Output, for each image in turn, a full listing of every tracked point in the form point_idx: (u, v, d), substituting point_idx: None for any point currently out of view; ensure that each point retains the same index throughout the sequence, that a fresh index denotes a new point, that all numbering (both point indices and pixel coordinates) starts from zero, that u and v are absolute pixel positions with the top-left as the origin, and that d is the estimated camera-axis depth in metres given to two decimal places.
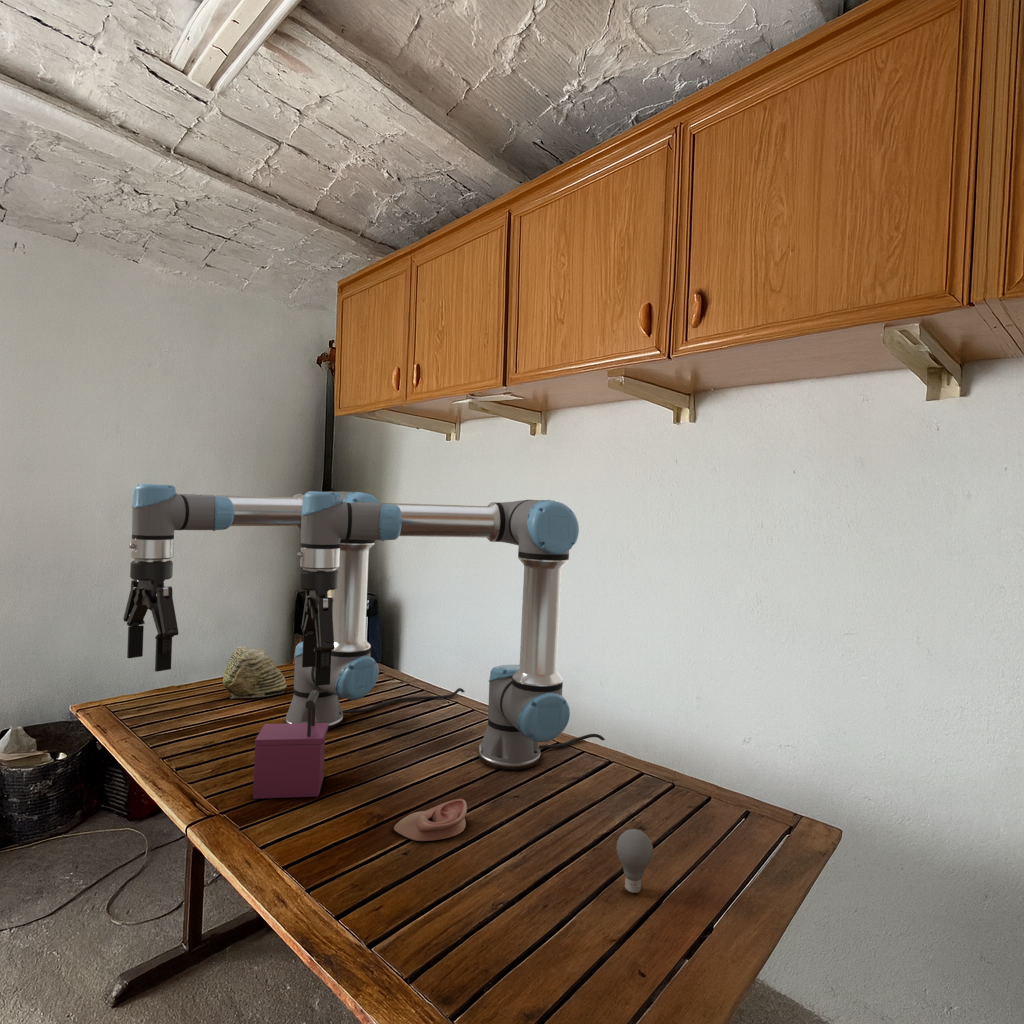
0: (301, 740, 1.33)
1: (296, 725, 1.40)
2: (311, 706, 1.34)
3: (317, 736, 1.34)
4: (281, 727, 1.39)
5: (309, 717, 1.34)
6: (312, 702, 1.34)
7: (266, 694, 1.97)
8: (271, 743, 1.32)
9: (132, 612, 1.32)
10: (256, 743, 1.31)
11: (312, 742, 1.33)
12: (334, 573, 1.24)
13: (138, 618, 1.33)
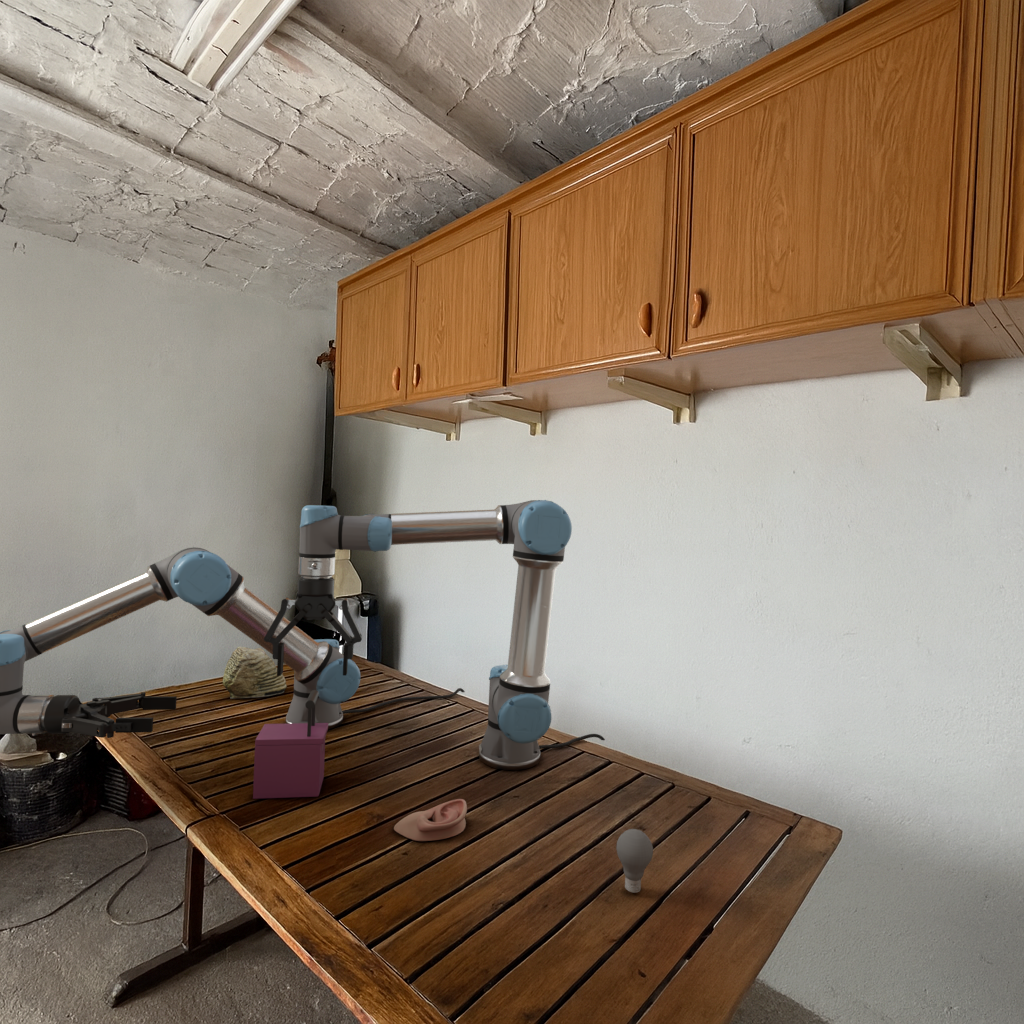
0: (301, 740, 1.33)
1: (296, 725, 1.40)
2: (311, 706, 1.34)
3: (317, 736, 1.34)
4: (281, 727, 1.39)
5: (309, 717, 1.34)
6: (312, 702, 1.34)
7: (266, 694, 1.97)
8: (271, 743, 1.32)
9: None
10: (256, 743, 1.31)
11: (312, 742, 1.33)
12: None
13: (133, 703, 1.37)
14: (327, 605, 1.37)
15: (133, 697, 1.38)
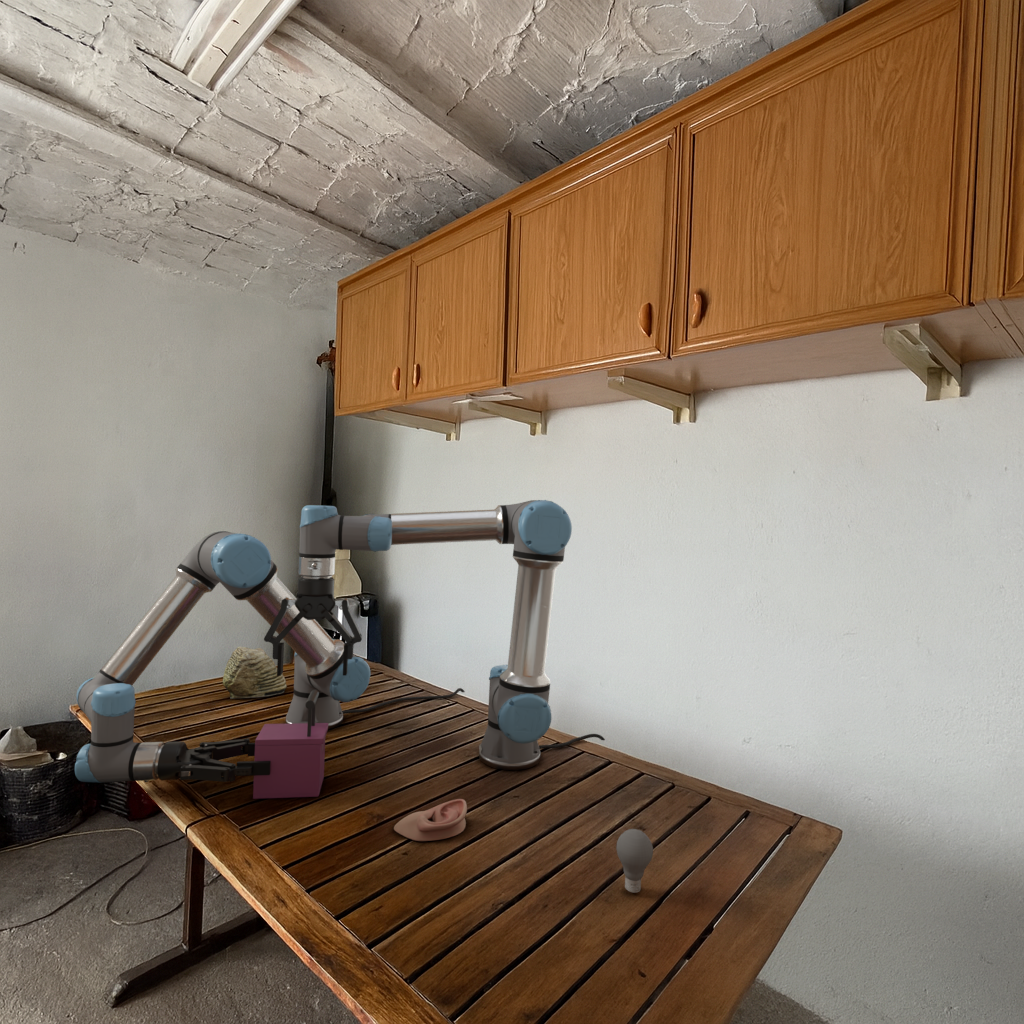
0: (301, 740, 1.33)
1: (296, 725, 1.40)
2: (311, 706, 1.34)
3: (317, 736, 1.34)
4: (281, 727, 1.39)
5: (309, 717, 1.34)
6: (312, 702, 1.34)
7: (266, 694, 1.97)
8: (271, 743, 1.32)
9: None
10: (256, 743, 1.31)
11: (312, 742, 1.33)
12: None
13: (237, 750, 1.39)
14: (327, 605, 1.37)
15: (238, 743, 1.40)
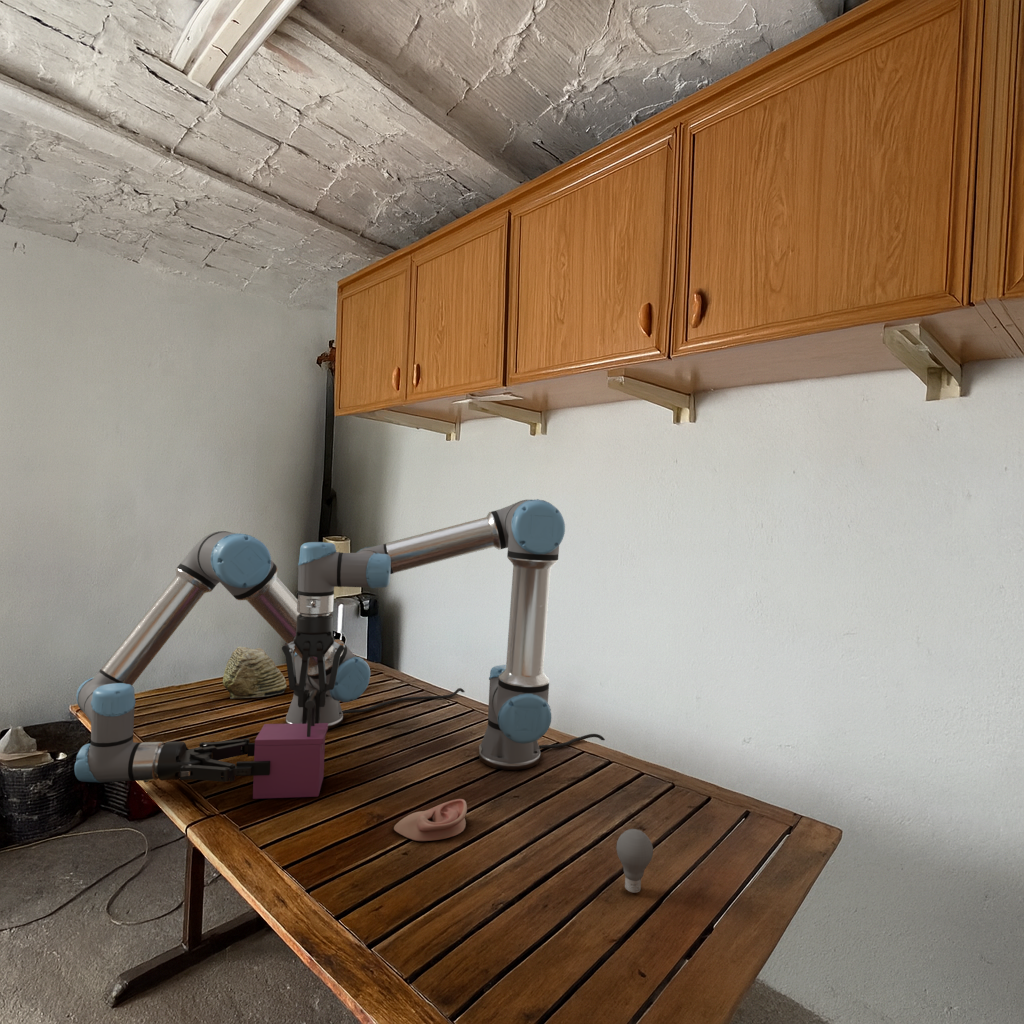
0: (301, 740, 1.33)
1: (295, 725, 1.40)
2: (311, 706, 1.34)
3: (317, 736, 1.34)
4: (280, 727, 1.39)
5: (309, 717, 1.34)
6: (312, 702, 1.34)
7: (266, 694, 1.97)
8: (271, 743, 1.32)
9: None
10: (256, 743, 1.31)
11: (312, 742, 1.33)
12: None
13: (237, 750, 1.39)
14: (326, 642, 1.37)
15: (238, 743, 1.40)
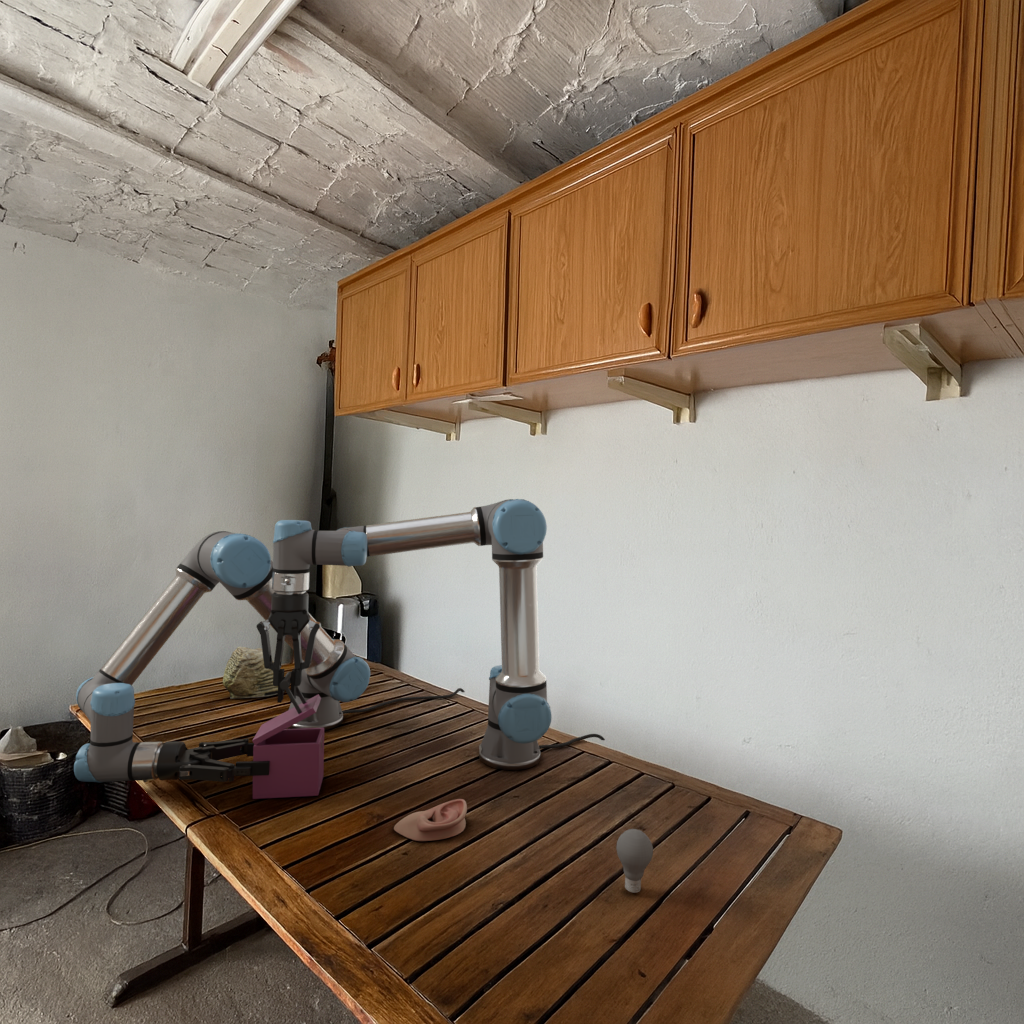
0: (294, 719, 1.32)
1: (289, 711, 1.40)
2: (286, 686, 1.33)
3: (307, 709, 1.34)
4: (276, 719, 1.39)
5: (290, 696, 1.33)
6: (285, 682, 1.33)
7: (266, 694, 1.97)
8: (268, 736, 1.32)
9: None
10: (255, 743, 1.31)
11: (305, 716, 1.33)
12: None
13: (236, 750, 1.39)
14: (301, 621, 1.36)
15: (237, 743, 1.40)
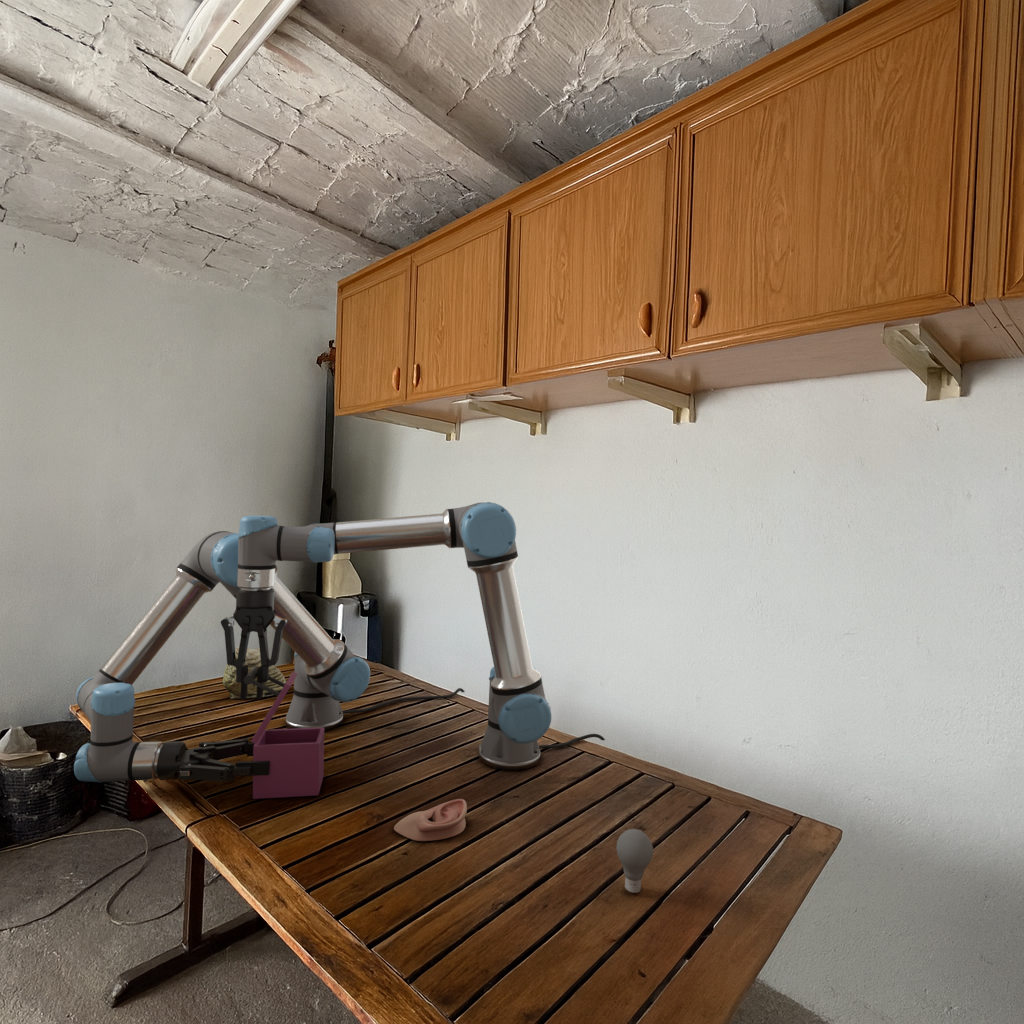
0: (275, 703, 1.32)
1: None
2: (250, 679, 1.32)
3: None
4: None
5: (260, 686, 1.32)
6: (247, 677, 1.32)
7: (266, 694, 1.97)
8: (262, 729, 1.31)
9: None
10: (254, 742, 1.31)
11: (283, 694, 1.32)
12: None
13: (236, 750, 1.39)
14: (266, 617, 1.34)
15: (237, 743, 1.40)
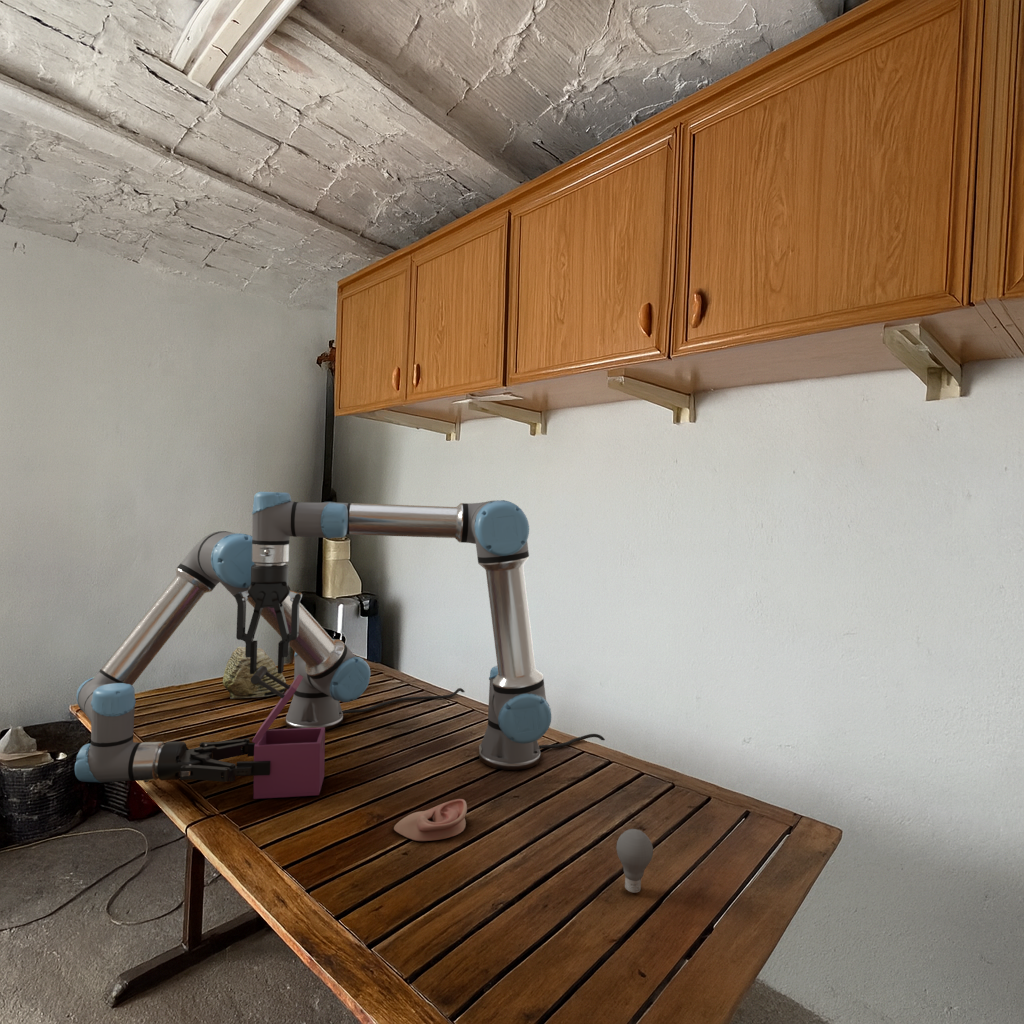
0: (280, 705, 1.32)
1: (279, 701, 1.40)
2: (257, 679, 1.32)
3: (288, 690, 1.33)
4: (270, 714, 1.39)
5: (266, 686, 1.32)
6: (254, 676, 1.32)
7: (266, 694, 1.97)
8: (264, 730, 1.32)
9: None
10: (255, 742, 1.31)
11: (288, 697, 1.32)
12: None
13: (237, 750, 1.39)
14: (281, 593, 1.35)
15: (238, 743, 1.40)
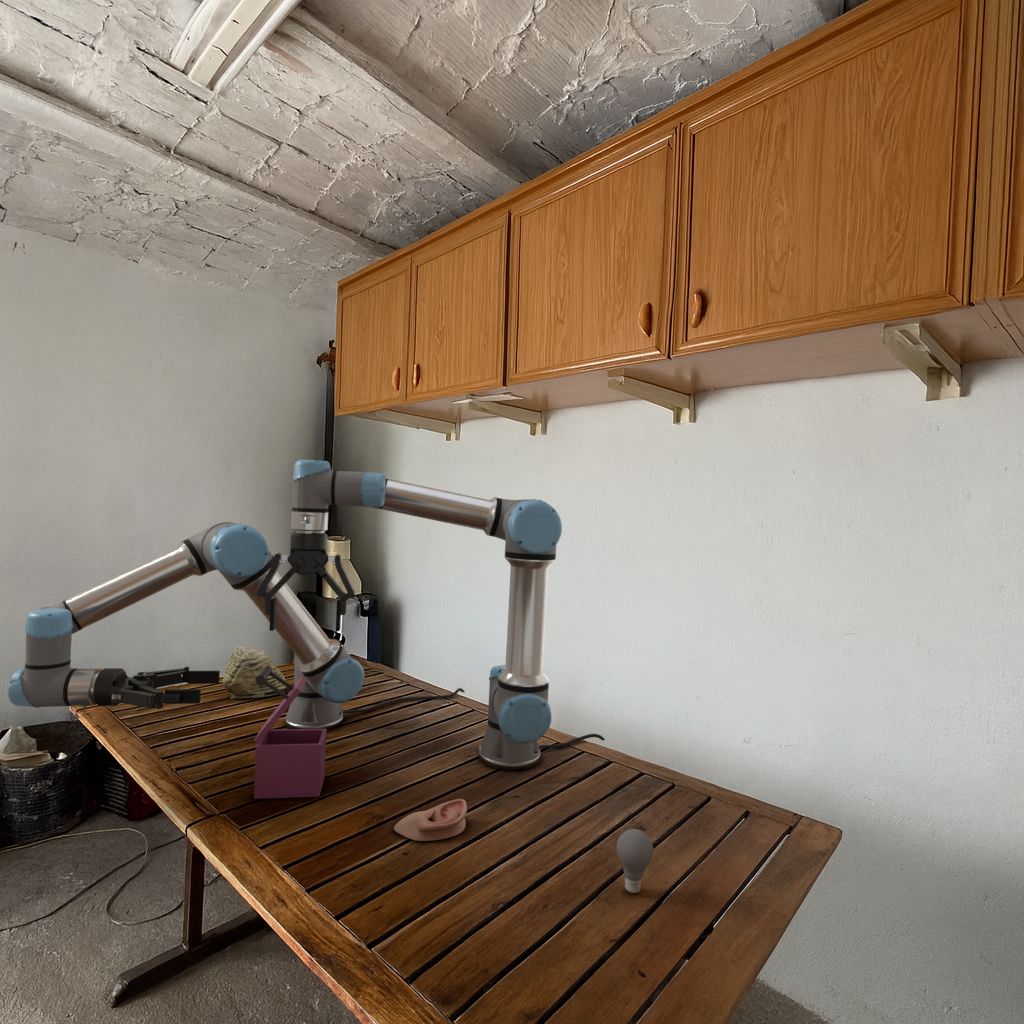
0: (283, 706, 1.32)
1: (282, 701, 1.40)
2: (262, 679, 1.32)
3: (292, 691, 1.33)
4: (272, 714, 1.39)
5: (271, 687, 1.33)
6: (259, 676, 1.32)
7: (266, 694, 1.97)
8: (267, 730, 1.32)
9: None
10: (257, 742, 1.31)
11: (292, 698, 1.32)
12: None
13: (177, 677, 1.38)
14: (320, 560, 1.36)
15: (177, 671, 1.39)
